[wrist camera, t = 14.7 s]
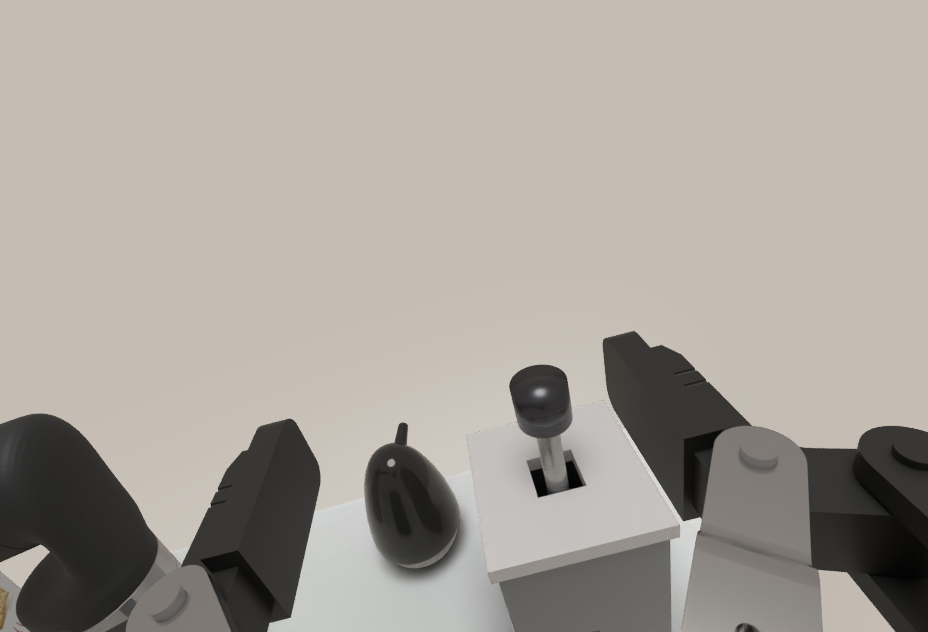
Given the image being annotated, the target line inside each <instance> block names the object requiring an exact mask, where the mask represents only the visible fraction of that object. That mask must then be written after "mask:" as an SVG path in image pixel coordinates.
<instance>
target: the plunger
mask: <svg viewBox="0 0 928 632" xmlns="http://www.w3.org/2000/svg"><path fill="white" fill-rule="evenodd" d="M509 387H510V392H511V396H512V400H513V405H514V409H515V413H516V417H517V422H518V426H519V428H520V429H521V430H522V431H523V432H524V433H525V434H527V435H529V436H531V437H534V438H536V439H537V443H538V448H539V453H540V458H541V463H542V467H543V472H544V477H545V482H546V487H547V491H548V495H551V494H555V493H559V492H563V491H567V490H570V489H569V483H568V478H567V472H566V466H565V460H564V454H563V449H562V443H561V437H560V434H562V433H563V432H565V431H566V430H567V429H568V428H569V427H570V425H571V423H572V419H573V415H572V408H571V402H570V395H569V388H568V382H567V377H566V375H565V373H564V372H563V371H562V370H560V369H559V368H557V367H554V366H550V365H534V366H530V367H527V368H524V369H522V370H520V371H519V372H518V373H516V374H515V375H514V376H513V377H512V379H511V381H510V386H509Z"/></svg>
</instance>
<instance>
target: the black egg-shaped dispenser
mask: <svg viewBox="0 0 928 632" xmlns="http://www.w3.org/2000/svg"><path fill="white" fill-rule="evenodd" d="M407 432H408V425H407V424H406V423H400V424H399V426H398V431H397V434H396V438H395V442H394V443H390V444H386V445H384V446H382V447H380V448H379V449H378V450H376V452H374V454H373V455H372V457H371V458H370V460H369V463H368V466H367V469H366V474H365V483H364V492H365V506H366V513H367V519H368V523H369V527H370V531H371V534H372V537H373V540H374V543H375V545H376V547H377V549H378V550H379V552H380V553H381V554H382V555H383V556H384V557H385V558H386V559H387V560H389V561H391V562H393V563H396V564H398V565H400V566H403V567H407V568H422V567H426V566H429V565H431V564H433V563H435V562H436V561H438V560H439V559H441V558H442V557H443V556H444V555H445V554H446V553H447V551H448V550H449V549H450V547H451V546H452V544H453V542H454V540H455V537H456V534H457V529H458V524H459V519H460V511H459V506H458V503H457V500H456V498H455V495H454V493H453V492H452V490H451V488H450V486H449V485H448V483H447V482H446V480H445V479H444V477H443V476H442V475H441V474H440V472H439V471H438V470H437V468H436V467H435V466H434V465H433V464H432V463H431V462H430V461H429V460H428V459H427V458H426V457H425V456H423V455H422V454H421V453H420V452H418V451H417V450H415V449H414V448H412V447H410V446H407Z"/></svg>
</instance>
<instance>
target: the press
mask: <svg viewBox="0 0 928 632" xmlns="http://www.w3.org/2000/svg"><path fill="white" fill-rule="evenodd" d="M572 415H573V419H572V423H571V425H570V427H569V428H568V429H567V430H566V431H565V432H563V433H562V434H560V437H561V443H562V449H563V454H564V460H565V466H566V472H567V478H568V483H569V489H570V490H567V491H563V492H559V493H555V494H551V495H548V491H547V487H546V482H545V477H544V472H543V467H542V463H541V458H540V453H539V448H538V443H537V439H536V438H534V437H531V436H529V435H527V434H525V433H524V432H523V431H522V430H521V429H520V428H519V426H518V422H515V423H511V424H507V425H503V426H499V427H495V428H492V429H487V430H484V431H479V432H476V433H472V434H468V435H466V439H467V446H468V451H469V458H470V464H471V471H472V477H473V484H474V490H475V496H476V503H477V509H478V515H479V522H480V528H481V534H482V541H483V547H484V553H485V560H486V566H487V572H488V575H489V578H490V581H491V584H494V583H498V582H499V584H500V587H501V590H502V593H503V596H504V599H505V602H506V605H507V608H508V611H509V614H510V617H511V620H512V623H513V626H514V629H515V632H593V631H597V630H599V631H600V632H671V575H670V539H674V538H678V537H680V524H679V523H678V521H677V519H676V518H675V516H674V514H673V513H672V511H671V509H670V508H669V506H668V504H667V503H666V501H665V499H664V498H663V496H662V495H661V493H660V491H659V490H658V488H657V486H656V485H655V483H654V481H653V480H652V478H651V476H650V475H649V473H648V472H647V470H646V468H645V467H644V465H643V463H642V462H641V460H640V458H639V457H638V455H637V453H636V452H635V450H634V448H633V447H632V445H631V444H630V442H629V440H628V439H627V437H626V435H625V434H624V432H623V430H622V429H621V427H620V425H619V424H618V422H617V420H616V419H615V417H614V416H613V414H612V412H611V411H610V409H609V407H608V406H607V404H606V402H605V401H604V400H601V401H597V402H593V403H590V404H585V405H581V406H578V407H574V408H572Z"/></svg>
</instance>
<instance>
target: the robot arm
mask: <svg viewBox="0 0 928 632" xmlns="http://www.w3.org/2000/svg"><path fill="white" fill-rule="evenodd" d="M603 354H604V364H605V374H606V385H607V391H608V395H609V398H610V401H611V404H612V406H613V408H614V410H615V412H616V414H617V415H618V417H619V419H620V420H621V422H622V423H623V425H624V427H625V428H626V430H627V431H628V433H629V435H630V436H631V438H632V440H633V441H634V443H635V444H636V446H637V448H638V449H639V451H640V452H641V454H642V456H643V457H644V459H645V460H646V462H647V464H648V465H649V467H650V469H651V470H652V472H653V473H654V475H655V477H656V478H657V480H658V481H659V483H660V485H661V486H662V488H663V490H664V491H665V493H666V494H667V496H668V498H669V499H670V501H671V502H672V504H673V506H674V507H675V509H676V510H677V512H678V514H679V515H680V517H681V519H682V520H683V521H686V520H690V519H694V518H698V517H701V519H702V523H701V528H700V531H698V533H697V537H696V542H695V548H694V554H693V560H692V566H691V572H690V578H689V585H688V591H687V597H686V603H685V609H684V615H683V621H682V627H681V632H823V629H822V610H821V592H820V579H819V573H818V570H828V571H839V572H847V573H848V574H849V575H850V576H851V578H852V579H853V580H854V581H855V582H856V584H857V585H858V586H859V587H860V589H861V590H862V591H863V592H864V594H865V595H866V596H867V597H868V599H869V600H870V601H871V602H872V603H873V605H874V606H875V607H876V608H877V609H878V611H879V612H880V613H881V614H882V616H883V617H884V618H885V619H886V621H887V622H888V623H889V624H890V625H891V627H892V628H893V629H894V630H895V632H928V432H925V431H922V430H918V429H914V428H908V427H901V426H883V427H877V428H873V429H871V430H869V431H867V432H865V433H864V434H863V435H862V436H861V438H860V440H859V443H858V447H857V449H824V448H802V447H798V446H797V445H796V444H795V443H794V442H793V441H792V440H790V439H789V438H787V437H786V436H784V435H782V434H780V433H778V432H775V431H773V430H770V429H766V428H762V427H756V426H752V425H750V423H749V422H748V421H746V419H745V418H744V417H743V416H742V415H741V414H740V413H739V412H738V411H737V410H736V409H735V408H734V407H733V406H732V405H731V404H730V403H729V402H728V401H727V400H726V399H725V398H724V397H723V396H722V395H721V394H720V393H719V392H718V391H717V390H716V389H715V388H714V387H713V386H712V385H711V384H710V383H709V382H706V379H705V378H704V377H703V376H702V375H701V374H700V373H699V372H698V371H695V368H694V367H693V366H692V365H691V364H690V363H689V362H688V361H687V360H686V359H685V358H684V357H683V356H682V355H681V354H679V353H677V352H675V351H673V350H671V349H668V348H666V347H664V346H662V345H660V346H656V347H652V348H650V347H649V346H648V345H647V344H646V342H645V341H644V340H643V339H642V338H641V337H640V336H639V335H638V334H637V333H636V332H635V331H633V332H628V333H624V334H620V335H616V336H613V337H609V338H605V339H604V340H603ZM319 487H320V470H319V465H318V462H317V460H316V458H315V457H314V454H313V453H312V451H311V449H310V447H309V446H308V444H307V442H306V440H305V438H304V436H303V435H302V433H301V431H300V429H299V427H298V426H297V424H296V422H295V421H294V420H292V419H286V420H282V421H279V422H275V423H271V424H267V425H263V426H260V427H259V428H258V429H257V431H256V433H255V435H254V437H253V440H252V442H251V444H250V447H249V449H248V450H246V451H243V452H241V454H240V455H239V456H238V457H237V458H236V460H235V461H234V462H233V463H232V464H231V465H230V466H229V468H228V469H227V470H226V472H225V474H224V477H223V478H222V481H221V483H220V485H219V487H218V492H216V493H215V495H214V498H213V500H212V502H211V508H208V510H207V512H206V515H205V517H204V519H203V521H202V523H201V525H200V527H199V529H198V532H197V534H196V536H195V538H194V540H193V542H192V544H191V546H190V549H189V551H188V553H187V555H186V557H185V559H184V561H183V563H182V564H181V563H180V562H179V561H178V560H177V559H176V558H175V557H174V556H173V555H172V553H170V552H169V550H168V549H167V548H166V547H165V546H164V545H163V544H162V543H161V542H160V541H159V539H158V538H157V537H156V536H155V535H154V534H153V533H152V531H151V530H150V529H149V528H148V526H147V524H146V522H145V520H144V518H143V516H142V514H141V512H140V510H139V508H138V506H137V504H136V503H135V501H134V500H133V499H132V497H131V496H130V495H129V493H128V492H127V491H126V490H125V488H124V487H123V486H122V485H121V483H120V482H119V481H118V479H117V478H116V477H115V476H114V474H113V473H112V472H111V470H110V469H109V468H108V466H107V465H106V464H105V462H104V461H103V460H102V458H101V457H100V456H99V454H98V453H97V452H96V450H95V449H94V448H93V446H92V445H91V444H90V443H89V441H88V440H87V439H86V438H85V437H84V436H83V435H82V434H81V433H80V432H79V431H78V430H77V429H76V428H74V427H73V426H72V425H70V424H69V423H67V422H66V421H64V420H62V419H60V418H58V417H55V416H52V415H48V414H31V415H27V416H23V417H19V418H17V419H14V420H11V421H8V422H5V423H2V424H0V562H2V561H4V560H6V559H9V558H11V557H13V556H16V555H18V554H20V553H23V552H25V551H27V550H29V549H32V548H34V547H36V546H38V545H40V544H41V545H43V546H44V547H46V548H47V549H48V550H49V551H50V553H49V554H48V555H47V556H46V557H45V558H44V559H43V560H42V561H41V562H40V563H39V564H38V566H37V567H36V568H35V569H34V570H33V572H32V573H31V575H30V576H29V578H28V579H27V580H26V582H25V584H24V585H23V587H22V589H21V591H20V593H19V596H18V599H17V602H16V615H17V618H18V620H19V621H20V623H21V624H22V625H23V626H24V627H25V628H26V629H28V630H29V631H30V632H267V630H268V626H269V623H271V622H275V621H279V620H283V619H287V618H291V613H292V609H293V604H294V600H295V595H296V591H297V586H298V582H299V577H300V573H301V568H302V564H303V559H304V555H305V550H306V546H307V541H308V537H309V532H310V528H311V523H312V519H313V514H314V510H315V505H316V501H317V496H318V492H319ZM593 632H600V631H599V630H597V631H593Z"/></svg>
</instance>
